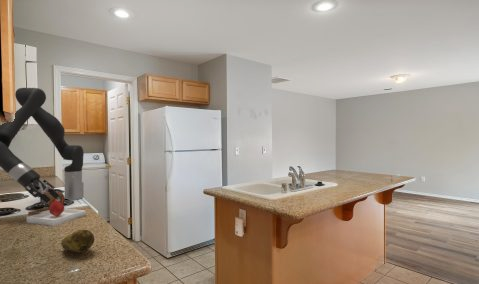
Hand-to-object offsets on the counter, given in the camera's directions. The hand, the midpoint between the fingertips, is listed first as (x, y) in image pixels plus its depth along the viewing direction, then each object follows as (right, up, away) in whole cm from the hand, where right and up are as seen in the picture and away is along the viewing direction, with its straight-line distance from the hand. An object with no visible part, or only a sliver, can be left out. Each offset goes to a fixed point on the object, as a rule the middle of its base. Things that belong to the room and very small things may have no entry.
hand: (53, 199), depth 121 cm
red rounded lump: (+1, -8, 0) cm, 9 cm away
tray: (+2, -9, 0) cm, 9 cm away
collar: (-11, -9, +11) cm, 18 cm away
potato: (+34, -10, -36) cm, 51 cm away
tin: (-18, -9, +24) cm, 32 cm away
